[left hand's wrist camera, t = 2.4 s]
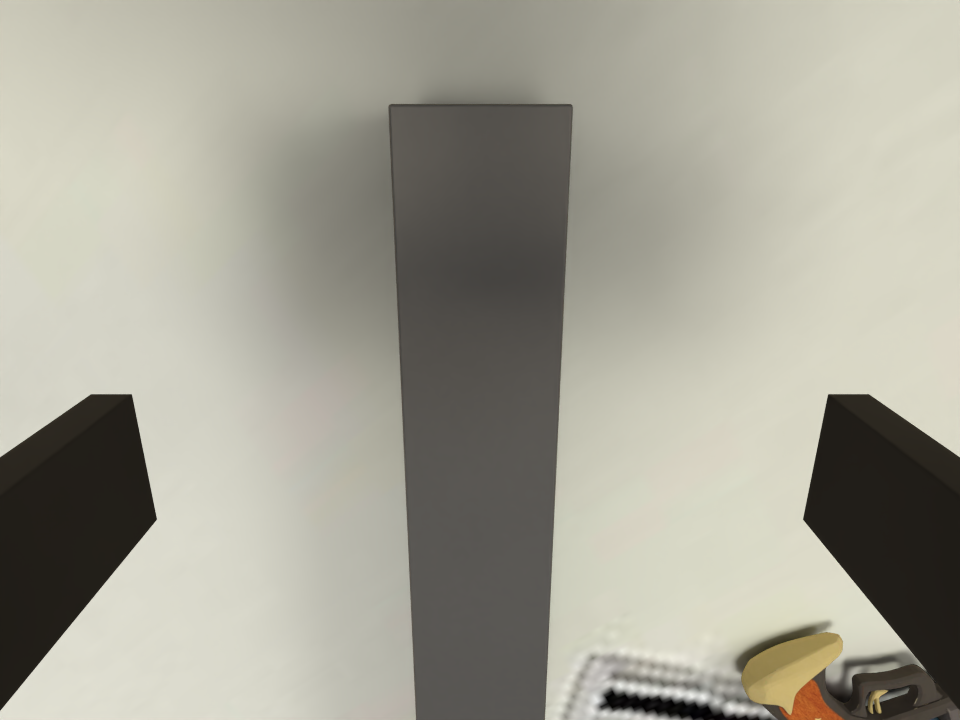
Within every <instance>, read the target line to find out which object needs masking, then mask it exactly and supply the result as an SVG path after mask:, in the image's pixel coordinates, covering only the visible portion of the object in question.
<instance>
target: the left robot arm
mask: <svg viewBox="0 0 960 720" xmlns="http://www.w3.org/2000/svg"><path fill="white" fill-rule="evenodd" d="M156 520H157V518H156V513H155V508H154V503H153V498H152V493H151V488H150V483H149V478H148V473H147V468H146V463H145V458H144V453H143V448H142V443H141V438H140V433H139V428H138V423H137V418H136V413H135V408H134V403H133V398H132V394H91V395H90V396H88V397H87V398H85V399H84V400H82V401H81V402H79V403H78V404H77V405H75V406H74V407H72V408H71V409H69V410H68V411H66V412H65V413H64V414H62V415H61V416H59V417H58V418H56V419H55V420H53V421H52V422H51V423H49V424H48V425H46V426H45V427H43V428H42V429H40V430H39V431H38V432H36V433H35V434H33V435H32V436H30V437H29V438H28V439H26V440H25V441H23V442H22V443H20V444H19V445H17V446H16V447H15V448H13V449H12V450H10V451H9V452H7V453H6V454H4V455H3V456H2V457H0V710H1V709H2V708H3V707H4V705H5V704H6V703H7V702H8V701H9V699H10V698H11V697H12V696H13V694H14V693H15V692H16V691H17V690H18V688H19V687H20V686H21V685H22V683H23V682H24V681H25V680H26V679H27V677H28V676H29V675H30V674H31V673H32V671H33V670H34V669H35V668H36V666H37V665H38V664H39V663H40V662H41V660H42V659H43V658H44V657H45V655H46V654H47V653H48V652H49V651H50V649H51V648H52V647H53V646H54V644H55V643H56V642H57V641H58V640H59V638H60V637H61V636H62V635H63V633H64V632H65V631H66V630H67V629H68V627H69V626H70V625H71V624H72V622H73V621H74V620H75V619H76V618H77V616H78V615H79V614H80V613H81V611H82V610H83V609H84V608H85V607H86V605H87V604H88V603H89V602H90V601H91V599H92V598H93V597H94V596H95V594H96V593H97V592H98V591H99V590H100V588H101V587H102V586H103V585H104V583H105V582H106V581H107V580H108V579H109V577H110V576H111V575H112V574H113V572H114V571H115V570H116V569H117V568H118V566H119V565H120V564H121V563H122V561H123V560H124V559H125V558H126V557H127V555H128V554H129V553H130V552H131V550H132V549H133V548H134V547H135V546H136V544H137V543H138V542H139V541H140V539H141V538H142V537H143V536H144V535H145V533H146V532H147V531H148V530H149V528H150V527H151V526H152V525H153V524H154V522H155V521H156ZM803 520H804V521H805V522H806V524H807V525H808V526H809V527H810V528H811V530H812V531H813V532H814V533H815V535H816V536H817V537H818V538H819V539H820V541H821V542H822V543H823V544H824V546H825V547H826V548H827V549H828V550H829V552H830V553H831V554H832V555H833V557H834V558H835V559H836V560H837V561H838V563H839V564H840V565H841V566H842V568H843V569H844V570H845V571H846V572H847V574H848V575H849V576H850V577H851V579H852V580H853V581H854V582H855V583H856V585H857V586H858V587H859V588H860V590H861V591H862V592H863V593H864V594H865V596H866V597H867V598H868V599H869V600H870V602H871V603H872V604H873V605H874V607H875V608H876V609H877V610H878V611H879V613H880V614H881V615H882V616H883V618H884V619H885V620H886V621H887V622H888V624H889V625H890V626H891V627H892V629H893V630H894V631H895V632H896V633H897V635H898V636H899V637H900V638H901V640H902V641H903V642H904V643H905V644H906V646H907V647H908V648H909V649H910V651H911V652H912V653H913V654H914V655H915V657H916V658H917V659H918V660H919V662H920V663H921V664H922V665H923V666H924V668H925V669H926V670H927V671H928V673H929V674H930V675H931V676H932V677H933V679H934V680H935V681H936V682H937V683H938V685H939V686H940V687H941V688H942V690H943V691H944V692H945V693H946V694H947V696H948V697H949V698H950V699H951V701H952V702H953V703H954V704H955V705H956V707H957V708H958V709H959V710H960V457H958V456H957V455H956V454H954V453H953V452H951V451H950V450H948V449H947V448H945V447H944V446H943V445H941V444H940V443H938V442H937V441H935V440H934V439H932V438H931V437H930V436H928V435H927V434H925V433H924V432H922V431H921V430H920V429H918V428H917V427H915V426H914V425H912V424H911V423H909V422H908V421H907V420H905V419H904V418H902V417H901V416H899V415H898V414H896V413H895V412H894V411H892V410H891V409H889V408H888V407H886V406H885V405H883V404H882V403H881V402H879V401H878V400H876V399H875V398H873V397H872V396H870V395H869V394H828V398H827V403H826V408H825V413H824V418H823V423H822V428H821V433H820V438H819V443H818V448H817V453H816V458H815V463H814V468H813V473H812V478H811V483H810V488H809V493H808V498H807V503H806V508H805V513H804V518H803Z"/></svg>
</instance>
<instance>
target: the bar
mask: <svg viewBox="0 0 960 720" xmlns="http://www.w3.org/2000/svg"><path fill="white" fill-rule="evenodd" d="M572 114H573V106H572V105H571V104H391V105H389V129H390V151H391V173H392V195H393V217H394V239H395V261H396V284H397V306H398V328H399V350H400V372H401V394H402V416H403V438H404V461H405V483H406V505H407V527H408V549H409V571H410V593H411V615H412V638H413V660H414V682H415V704H416V720H545V703H546V681H547V659H548V638H549V616H550V594H551V572H552V550H553V529H554V507H555V485H556V463H557V441H558V420H559V398H560V376H561V354H562V332H563V311H564V289H565V267H566V245H567V223H568V201H569V180H570V158H571V136H572Z"/></svg>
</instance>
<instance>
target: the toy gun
mask: <svg viewBox="0 0 960 720" xmlns="http://www.w3.org/2000/svg"><path fill="white" fill-rule="evenodd" d="M842 648H843V641H842V639H841V637H840V636H839V635H838V634H834V633H828V632H825V633H820V634H815V635H811V636H806V637H802V638H798V639H794V640H791V641H787V642H784V643H781V644H778V645H776V646H773V647H771V648H769V649H767V650H765V651H763V652H761V653H759V654H758V655H756V656H755V657H753V658H751V659H750V660H749V661H748V663H747V665H746V667H745V669H744V671H743V673H742V677H741V680H742V684H743V687H744V690H745V692H746V694H747V695H748V697H749V698H750V699H751V700H752V701H754V702H756V703H759V704H762V705H763V706H764V707H765V708H766V709H767V710H768V711H769V712H770V713H771V714H772V715H773V716H775V717H776V718H777V719H778V720H960V710H959V709H958V708H957V707H956V705H955V704H954V703H953V702H952V701H951V699H950V698H949V697H948V696H947V694H946V693H945V692H944V691H943V690H942V688H941V687H940V686H939V685H938V683H937V682H936V683H934V681H933V679H932V678H931V677H930V676H929V675H928V674H927V673H926V672H925V671H924V670H923V669H922V668H920V667H919V666H917V665H914V664H911V665H907V666H904V667H901V668H898V669H894V670H891V671H885V672H879V673H863V674H856V675H854V676H853V677H852V685H853V691H852V696H851V698H850V700H849V701H848V702H846V703H843V702H840V701H838V700H837V699H836V698H834V697H833V696H832V695H831V694H830V693H829V692H828V691H827V689H826V683H825V669H826V667H827V666H828V665H829V664H830V663H831V662H832V661H834V660H835V659H836V658H837V657H838V656H839V655H840V654H841V652H842ZM908 685H910V689H909V691H908V693H907V694H904V695H901V696H898V697H895V698H892V699H889V700H886V701H883V702H880V703H879V698H880V696H881V695H883V694H885V693H886V692H887V690H888V689H896V688H901V687H905V686H908ZM871 691H872V692H871ZM869 692H871V694H870V697H869V700H868V706H865V701H866V697H867V695H868V693H869ZM873 701H874V705H873Z"/></svg>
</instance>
